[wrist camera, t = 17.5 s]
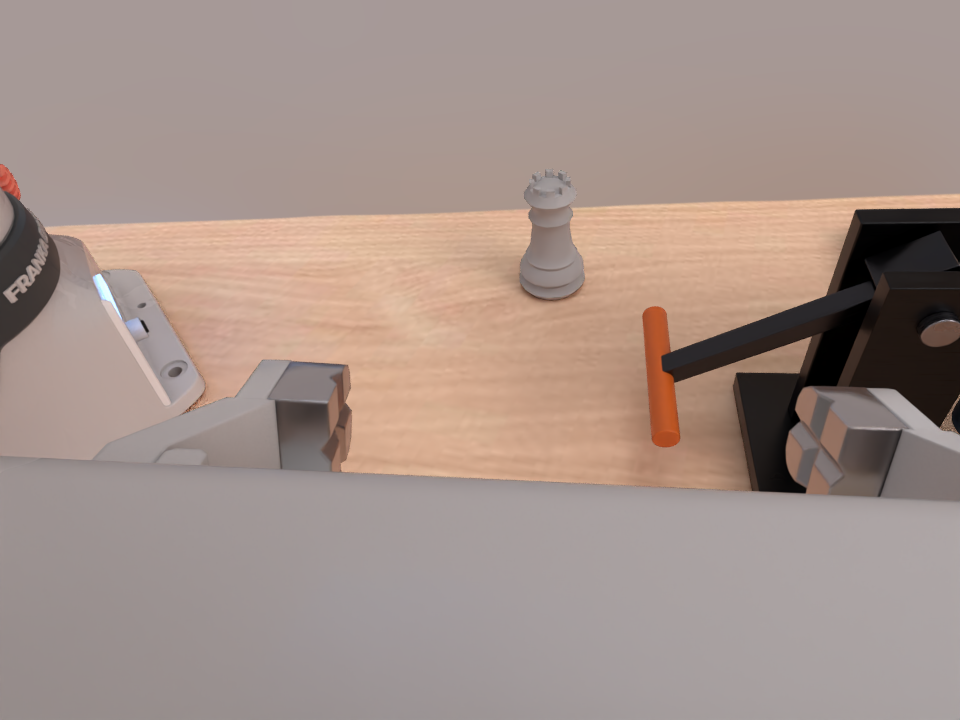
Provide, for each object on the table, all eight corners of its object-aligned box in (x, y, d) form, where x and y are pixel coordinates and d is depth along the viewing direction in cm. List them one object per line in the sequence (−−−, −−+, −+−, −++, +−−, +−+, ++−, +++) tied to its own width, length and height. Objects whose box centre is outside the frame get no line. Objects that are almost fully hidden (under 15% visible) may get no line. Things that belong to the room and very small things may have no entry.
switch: (665, 457, 32) (641, 428, 31) (653, 333, 37) (633, 303, 36) (1002, 360, 26) (990, 318, 24) (929, 228, 31) (916, 188, 30)
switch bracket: (761, 541, 34) (839, 336, 24) (732, 386, 41) (784, 176, 31) (964, 550, 33) (1133, 338, 23) (899, 389, 40) (1009, 171, 30)
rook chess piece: (559, 253, 51) (558, 152, 45) (598, 285, 48) (602, 182, 42) (507, 277, 50) (499, 177, 44) (544, 312, 47) (540, 210, 41)
